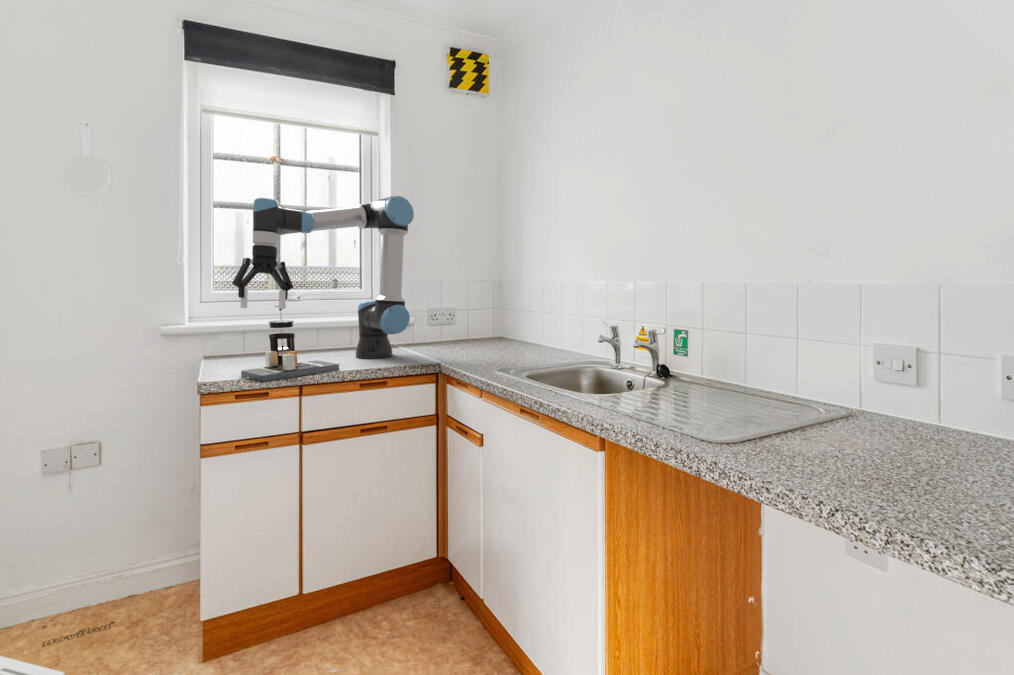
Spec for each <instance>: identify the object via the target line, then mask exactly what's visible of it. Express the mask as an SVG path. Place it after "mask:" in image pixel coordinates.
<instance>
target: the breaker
mask: <svg viewBox="0 0 1014 675" xmlns="http://www.w3.org/2000/svg"><path fill="white" fill-rule="evenodd" d="M297 353H298V352H297V351H296V350H295V351H289V352H287V351H285V352H284V355H285V354H295V366H297V363H298V354H297Z"/></svg>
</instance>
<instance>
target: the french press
mask: <svg viewBox="0 0 1014 675" xmlns="http://www.w3.org/2000/svg"><path fill="white" fill-rule="evenodd" d="M274 307H275V308H277V307H278V311H279V318H280V320H279V319H276V320H273V321H268V322H267V323H268V324H269V328H270V329H280V331H281V332H279V333H271V334H269V335H268V339H269V345H270V346H269V347H270V351H277V358H278V365H283V358H282V355H283V354H282V355H281V354H280V355H279V353H281V352H282V353H283V352H284V353H285V352H289V351H296V348H295V337H296V336H295V333H293V332H283V329H286V328H293V327H294V322H295V321H294V320H290V319H289V320H288V319H282V318H283V317H282V311H283V309H279V304H278V305H274ZM285 339H286V346H284V340H285ZM278 340H281V347H279V341H278Z"/></svg>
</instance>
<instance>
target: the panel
mask: <svg viewBox="0 0 1014 675" xmlns="http://www.w3.org/2000/svg"><path fill="white" fill-rule="evenodd" d="M264 353H265V354H264V356H265V366H264V367H258V368H251V369H244V370H241V373H240V375H241V376H243V378H245V377H249V378H251V379H250V380H254V381H258V382H263V383H264V382H268V381H270V382H271V381H276V380H282V379H288V378H295V377H300V376H308V375H313V373H315V374H318V373H317V372H321V373H325V372H324V371H327V372H332V371H331V370H334V371H339V370H340V364H339V363H334V362H329V361H323V360H310V361H302V362H297V366H295V354H285V353H284V354H282V358H283V365H278V358H277V351H271V350H270V351H265V352H264ZM249 378H248V379H249Z"/></svg>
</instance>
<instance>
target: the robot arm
mask: <svg viewBox="0 0 1014 675" xmlns="http://www.w3.org/2000/svg"><path fill="white" fill-rule="evenodd" d="M252 207H253V208H252V253H251V254H252V258H250V257H243V258H242V263H241V265H240V268H239V270H238V272H237V273H236V275H235V277H234V279H233V281H232V285H233V286H235V287H237V289H238V293H237V295H238V296H237V297H238V299H239V298H240V309H248V288H247V287H246V286H247V285H249V283H250V282H251V281H252V280H253V279H254V278H255V276H257V274H269V275H270V276H271V277H272V278H273V280H274V281H275V282H276V284H277V285H278V286H279V288H280V289H279V290H278V305H279V307H278V310H279V309H282V310H286V300H287V301H288V294H289V293H288V292H289V291H290V290H292V289H294V285H293V283H292V280H291V278H290V276H289V273H288V271H287V269H286V262H285V261H277V257H278V248H277V245H278V235H279V236H284V235H288V234H289V235H291V234H298V233H301V234H310V233H312V232H316V231H326V230H336V229H346V228H356V227H358V228H359V229H361V230H362V229H363V230H364V229H377V231H378V233H379V234H380V235H381V243H380V245H381V246H380V268H379V269H380V272H379V273H380V276H379V295H378V296H377V297H376V298H375V300H371V301H369V300H368V301H363V302H360V303H359V304H358V307H357V308H358V309H357V315H358V316H357V317H358V318H357V319H358V336H359V338H358V343H357V346H356V349H355V358H357V359H358V358H359V359H381V358H382V359H383V358H389V357H392V356H393V355H394V354H393V349H392V345H391V343H390V341H389V338H388V337H389V336H388V335H397V334H398V335H399V334H400V333H402V332H404V331H405V330H406V329H407V327H408V326H409V324H410V318H411V315H410V312H409V310H408V309H407V308H406V300H405V299H404V298H403V297H402V292H403V290H402V289H403V288H402V287H403V268H404V266H403V264H404V260H403V259H404V241H405V238H404V237H405V236H406V235H407V234H408V232H409V230H408V229H409V225H410V224H411V223H412V222H413V219H414V218H415V217H414V215H415V213H414V207H413V205H412V204H411V203H410V201H409V200H408V199H407V198H405V197H403V196H400V195H395V196H394V195H392V196H388V197H386V198H380V199H378V200H376V199H375V200H373V201H371V202H366V203H361V204H360V203H359V204H356V205H355V206H354V207H344V208H330V209H319V210H318V209H317V210H307V211H305V210H300V209H299V210H298V209H294V208H293V209H292V208H287V207H286V208H285V207H280V206H279V201H278V200H276V199H272V198H269V197H268V198H267V197H257V198H255V199H254V201H253V206H252ZM251 264H252V266H253V267H252V268H251V269H250V271H249V272H248V269H249V268H250V265H251ZM276 268H278V270H277V269H276ZM247 272H248V273H247ZM246 273H247V274H246ZM279 273H280V274H279Z"/></svg>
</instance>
